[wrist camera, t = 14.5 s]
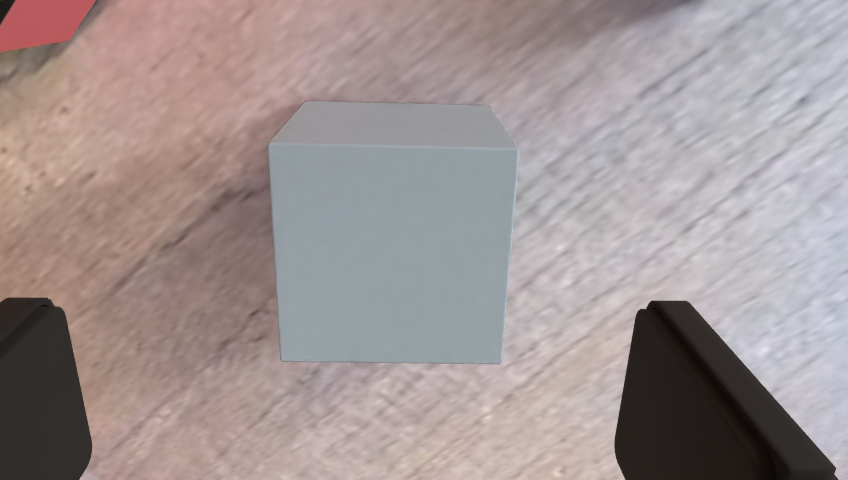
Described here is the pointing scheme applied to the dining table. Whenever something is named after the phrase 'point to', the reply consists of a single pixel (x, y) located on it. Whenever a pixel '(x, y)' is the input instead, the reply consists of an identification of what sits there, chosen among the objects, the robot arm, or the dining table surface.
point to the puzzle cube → (39, 21)
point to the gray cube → (392, 232)
